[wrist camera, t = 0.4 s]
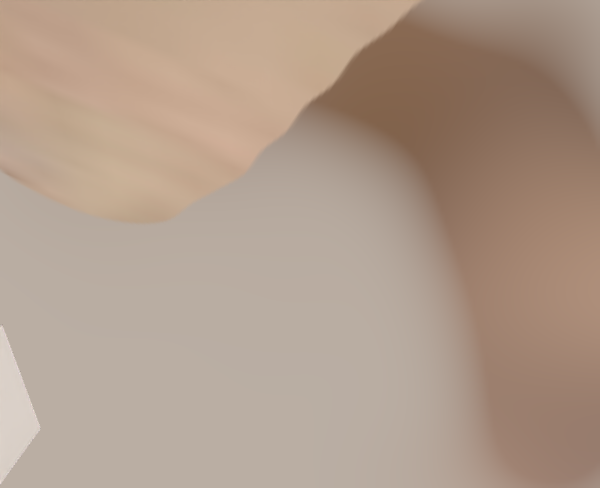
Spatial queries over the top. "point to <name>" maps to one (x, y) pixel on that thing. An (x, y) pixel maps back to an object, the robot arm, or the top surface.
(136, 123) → the top surface
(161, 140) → the top surface
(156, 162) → the top surface
